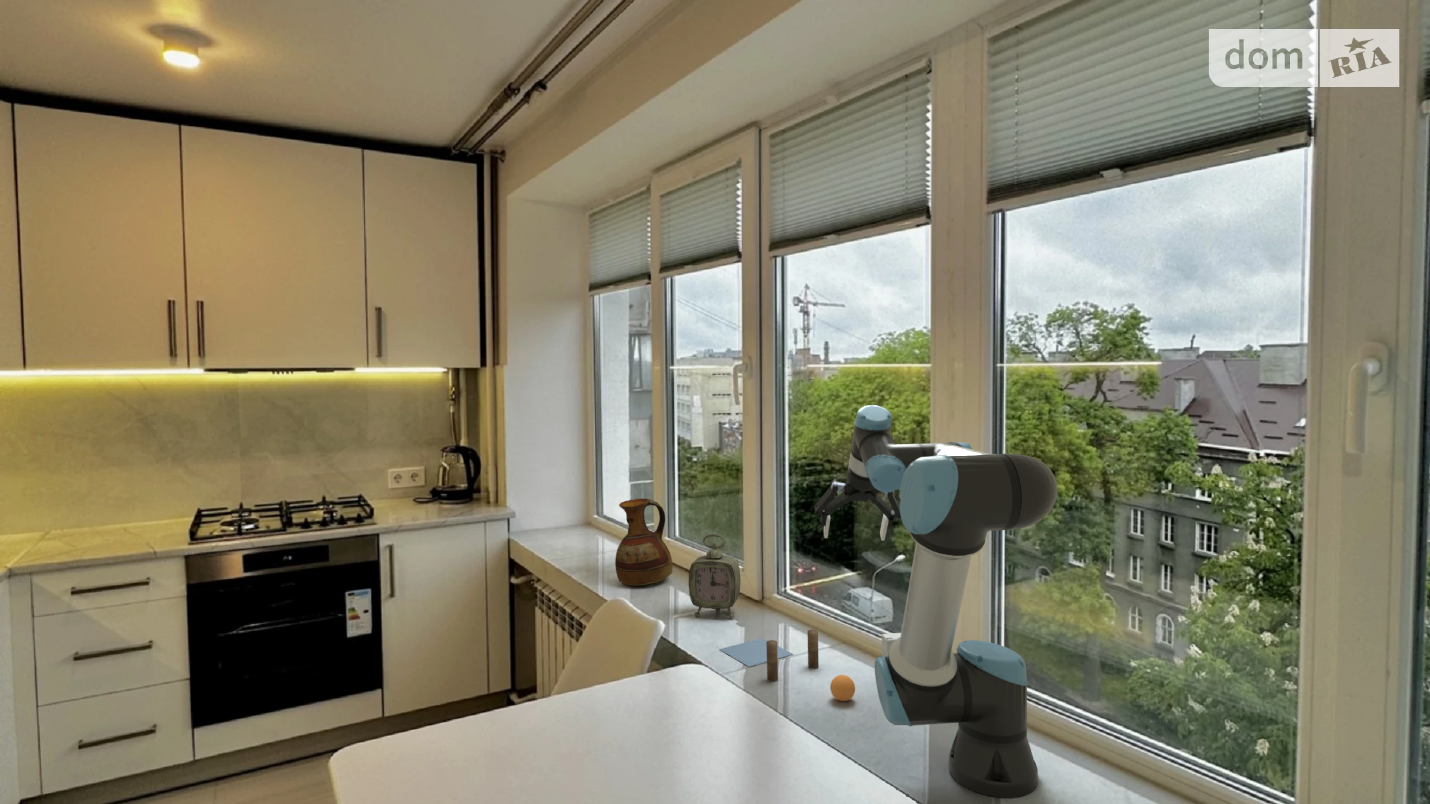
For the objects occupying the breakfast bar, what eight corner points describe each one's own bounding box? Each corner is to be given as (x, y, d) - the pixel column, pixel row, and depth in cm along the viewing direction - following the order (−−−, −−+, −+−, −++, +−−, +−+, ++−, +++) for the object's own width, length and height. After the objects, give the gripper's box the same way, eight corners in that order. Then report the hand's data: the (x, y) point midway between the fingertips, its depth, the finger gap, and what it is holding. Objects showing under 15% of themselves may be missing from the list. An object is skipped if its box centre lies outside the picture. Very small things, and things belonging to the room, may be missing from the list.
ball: (860, 701, 164) (860, 677, 163) (841, 707, 161) (841, 683, 160) (843, 692, 168) (843, 668, 168) (825, 698, 165) (825, 674, 165)
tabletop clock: (689, 618, 221) (687, 536, 220) (697, 609, 229) (695, 530, 228) (736, 621, 217) (734, 538, 216) (742, 611, 226) (740, 531, 225)
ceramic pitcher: (609, 579, 265) (606, 497, 264) (661, 571, 274) (659, 492, 272) (626, 593, 247) (623, 505, 246) (681, 585, 256) (679, 499, 255)
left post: (780, 679, 176) (779, 642, 176) (771, 682, 175) (770, 645, 174) (773, 675, 178) (773, 639, 178) (765, 678, 177) (764, 641, 176)
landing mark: (793, 654, 191) (793, 654, 191) (749, 667, 184) (749, 666, 184) (762, 638, 203) (762, 638, 203) (719, 649, 196) (719, 649, 196)
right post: (820, 667, 183) (820, 631, 182) (812, 669, 181) (812, 633, 181) (814, 663, 185) (813, 628, 184) (806, 666, 183) (805, 630, 183)
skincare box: (906, 681, 173) (906, 631, 173) (913, 690, 169) (913, 638, 168) (881, 683, 173) (880, 632, 172) (887, 691, 168) (887, 639, 168)
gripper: (918, 459, 167) (903, 526, 180) (808, 454, 168) (801, 522, 180) (924, 481, 161) (908, 549, 174) (810, 476, 162) (802, 544, 174)
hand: (853, 535), depth 177 cm, fingers open, 13 cm apart
